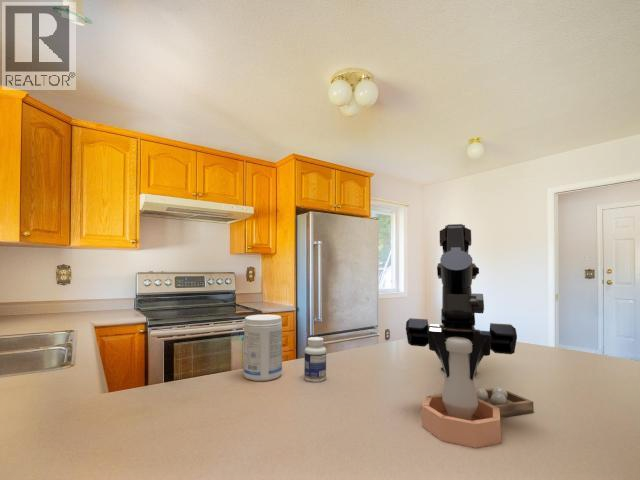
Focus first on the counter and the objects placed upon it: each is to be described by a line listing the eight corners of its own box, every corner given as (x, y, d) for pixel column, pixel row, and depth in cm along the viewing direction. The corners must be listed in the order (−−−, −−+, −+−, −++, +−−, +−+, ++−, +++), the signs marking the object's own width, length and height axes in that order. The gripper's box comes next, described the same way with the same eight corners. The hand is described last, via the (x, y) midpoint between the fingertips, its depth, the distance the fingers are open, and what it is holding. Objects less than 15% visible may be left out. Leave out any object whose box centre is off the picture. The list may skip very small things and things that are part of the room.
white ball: (499, 397, 70) (499, 384, 70) (511, 403, 67) (510, 388, 68) (489, 399, 69) (488, 385, 69) (500, 404, 67) (499, 390, 67)
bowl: (463, 409, 65) (463, 391, 66) (518, 439, 54) (517, 416, 54) (410, 417, 62) (410, 398, 62) (456, 451, 50) (456, 427, 51)
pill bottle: (303, 375, 85) (304, 336, 86) (324, 375, 86) (325, 336, 87) (304, 382, 80) (305, 340, 81) (327, 382, 81) (327, 340, 81)
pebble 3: (498, 404, 67) (498, 389, 67) (510, 410, 64) (510, 394, 64) (487, 406, 66) (487, 391, 66) (499, 411, 63) (498, 396, 63)
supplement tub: (277, 368, 91) (278, 313, 92) (286, 379, 82) (287, 318, 83) (240, 372, 88) (242, 314, 89) (245, 384, 79) (247, 320, 80)
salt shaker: (461, 405, 62) (460, 333, 63) (486, 419, 57) (484, 340, 57) (435, 409, 60) (434, 335, 61) (458, 424, 55) (457, 342, 56)
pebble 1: (480, 399, 69) (480, 385, 69) (491, 404, 67) (491, 389, 67) (469, 400, 68) (469, 386, 69) (480, 406, 66) (480, 391, 66)
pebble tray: (499, 397, 72) (499, 387, 72) (533, 412, 64) (533, 401, 65) (461, 402, 69) (461, 392, 69) (492, 419, 61) (492, 408, 61)
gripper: (406, 277, 67) (398, 346, 56) (513, 279, 60) (528, 357, 49) (411, 312, 74) (405, 379, 63) (508, 317, 67) (520, 394, 56)
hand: (459, 377), depth 57 cm, fingers closed on salt shaker, 3 cm apart
